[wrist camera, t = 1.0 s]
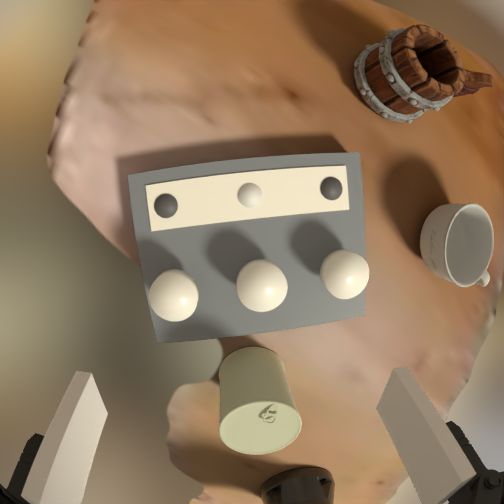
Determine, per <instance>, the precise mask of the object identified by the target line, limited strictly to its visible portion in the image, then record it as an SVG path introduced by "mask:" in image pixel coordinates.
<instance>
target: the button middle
mask: <svg viewBox="0 0 504 504" xmlns="http://www.w3.org/2000/svg"><path fill="white" fill-rule="evenodd" d="M236 283H237V293H238V297H239V299H240V301H241V302H242V304H243V305H244V306H246V307H247V308H248V309H250V310H253V311H256V312H266V311H270V310H273V309H275V308H276V307H278V306H279V305H280V304H281V303H282V302H283V300H284V299H285V297H286V294H287V289H288V285H287V280H286V278H285V276H284V274H283V273H282V271H281V270H280V268H279V267H278V266H277V265H276V264H275V263H273V262H271V261H269V260H264V259H258V260H253V261H251V262H249V263H247V264H246V265H245V266H243V268H242V269H241V270H240V272H239V274H238V276H237V282H236Z"/></svg>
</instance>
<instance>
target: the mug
mask: <svg viewBox="0 0 504 504" xmlns="http://www.w3.org/2000/svg"><path fill="white" fill-rule="evenodd" d="M354 66H355V68H354V76H355V79H354V81H355V86H356V90H357V91H358V93H359V95H360V97H361V98H362V100H363V102H364V103H365V104H366V105H367V106H368V107H369V108H370V109H371V110H374V111H375V113H376V114H378V115H380V116H381V117H383V118H385V119H388V120H392V121H396V122H401V123H402V122H407V123H411V122H412V120H414V119H416V118H418V117H419V116H420V115H422V114H423V113H424V112H425V111H427V110H431V109H434V110H435V111H438V110H439V109H440V107H442V106H444V105H445V104H446V103H447V102H449V101H450V100H451V98H452V97H456V96H460V95H466V94H473V93H475V92H477V91H478V90H479V88H482V87H494V83H493V79H492V76H491V75H489V74H485V73H480V72H471V71H468V70H465V69H463V65H462V62H461V58H460V57H459V55H458V53H457V51H456V50H455V48H454V47H453V45H452V44H451V43H450V42H449V41H448V40H444V36H443V35H442V34H441V33H439V32H438V31H437V30H435V29H433V28H431V27H428V26H426V25H416V26H415V25H413V26H411V27H409V28H407V29H404V28H399V29H397V30H395V31H394V30H389V31H388V35H386V36H385V37H384V39H383V40H382V42H381V43H375V44H373V45H372V46H371V45H366V49H364V50H363V51H361V53H360V54H359V56H358V57H357V59H356V61H355V63H354Z"/></svg>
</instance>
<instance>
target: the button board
mask: <svg viewBox="0 0 504 504" xmlns="http://www.w3.org/2000/svg"><path fill="white" fill-rule="evenodd" d="M128 183H129V192H130V201H131V209H132V216H133V223H134V230H135V236H136V243H137V249H138V255H139V260H140V266H141V271H142V276H143V281H144V286H145V291H146V296H147V300H148V305H149V310H150V314H151V318H152V323H153V327H154V331H155V335H156V338H157V343H169V342H182V341H194V340H205V339H215V338H225V337H234V336H242V335H251V334H258V333H266V332H273V331H280V330H287V329H293V328H300V327H306V326H312V325H318V324H323V323H329V322H335V321H340V320H345V319H350V318H355V317H360V316H365V290H366V286H365V288H364V289H363V291H362V292H361V293H360V294H358V295H357V296H355V297H353V298H350V299H339V298H337V297H335V296H333V295H332V294H331V293H330V292H329V291H328V290H327V289H326V288H325V287H324V285H323V284H322V282H321V278H320V269H321V265H322V263H323V261H324V260H325V258H326V257H327V256H328V255H329V254H331V253H332V252H334V251H336V250H340V249H346V250H350V251H352V252H354V253H356V254H358V255H360V256H361V257H362V258H364V260H365V261H366V247H365V217H364V199H363V185H362V173H361V162H360V153H318V154H297V155H281V156H267V157H255V158H244V159H234V160H225V161H216V162H208V163H200V164H193V165H186V166H179V167H172V168H166V169H159V170H153V171H147V172H142V173H136V174H131V175H128ZM258 259H264V260H269V261H271V262H273V263H275V264H276V265H277V266H278V267H279V268H280V270H281V271H282V273H283V274H284V276H285V278H286V280H287V285H288V289H287V294H286V297H285V299H284V300H283V302H282V303H281V304H280V305H279V306H278V307H276V308H275V309H273V310H270V311H266V312H256V311H253V310H250V309H248V308H247V307H246V306H244V305H243V304H242V302H241V301H240V299H239V297H238V293H237V283H236V282H237V276H238V274H239V272H240V270H241V269H242V268H243V266H245V265H246V264H247V263H249V262H251V261H253V260H258ZM172 269H177V270H182V271H184V272H186V273H188V274H189V275H191V276H192V277H193V278H194V280H195V281H196V283H197V285H198V289H199V298H198V302H197V306H196V309H195V311H194V312H193V314H192V315H191V316H190V317H188V318H187V319H185V320H182V321H168V320H165V319H163V318H161V317H160V316H158V315H157V314H156V313H155V312H154V310H153V309H152V307H151V305H150V302H149V290H150V287H151V285H152V284H153V282H154V281H155V280H156V278H157V277H158V276H159V275H160V274H161V273H163V272H165V271H167V270H172Z"/></svg>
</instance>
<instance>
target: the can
mask: <svg viewBox="0 0 504 504" xmlns="http://www.w3.org/2000/svg"><path fill="white" fill-rule="evenodd" d="M219 380H220V421H219V435H220V438H221V440H222V441H223V442H224V443H225V444H226V445H227V446H228V447H229V448H231V449H233V450H235V451H238V452H241V453H245V454H256V455H258V454H267V453H271V452H275V451H278V450H280V449H282V448H284V447H286V446H287V445H289V444H290V443H291V442H293V441H294V440H295V439H296V437H297V436H298V434H299V433H300V430H301V426H302V421H301V417H300V415H299V413H298V411H297V408H296V405H295V402H294V399H293V396H292V393H291V390H290V387H289V384H288V381H287V378H286V374H285V368H284V364H283V362H282V360H281V359H280V357H279V356H278V355H277V354H275V353H274V352H272V351H270V350H268V349H266V348H262V347H245V348H241V349H239V350H236V351H234V352H232V353H231V354H230V355H228V356H227V357H226V358H225V359H224V361H223V362H222V364H221V366H220V369H219Z"/></svg>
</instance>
